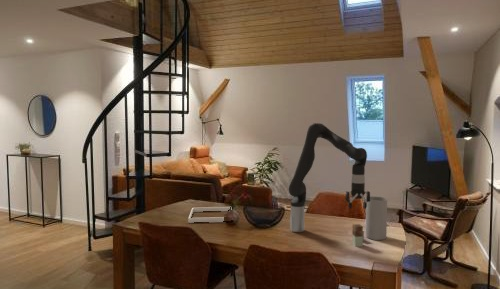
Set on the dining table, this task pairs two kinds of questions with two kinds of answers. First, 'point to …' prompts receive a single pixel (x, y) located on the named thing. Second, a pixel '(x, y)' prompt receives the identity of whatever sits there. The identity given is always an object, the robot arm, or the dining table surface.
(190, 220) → the white square frame
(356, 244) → the sage block
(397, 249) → the dining table surface
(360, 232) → the walnut block
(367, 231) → the cylinder vase
